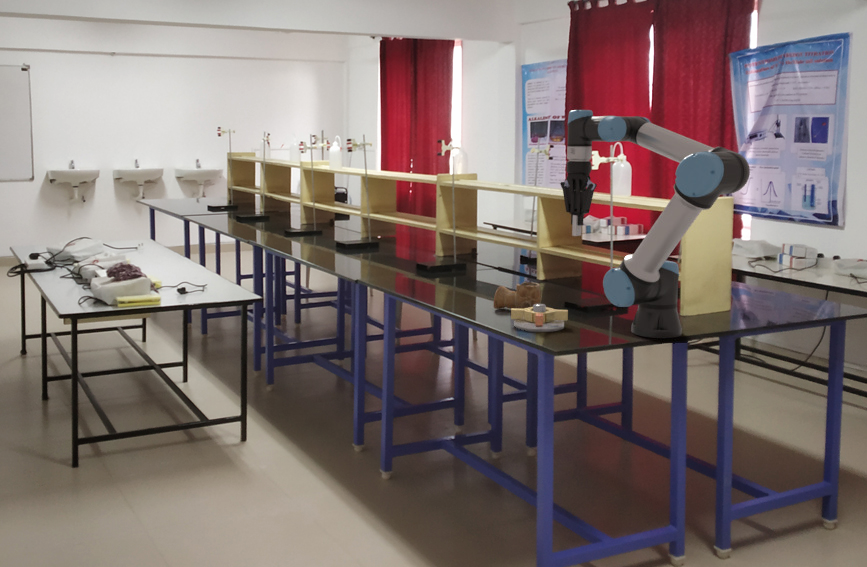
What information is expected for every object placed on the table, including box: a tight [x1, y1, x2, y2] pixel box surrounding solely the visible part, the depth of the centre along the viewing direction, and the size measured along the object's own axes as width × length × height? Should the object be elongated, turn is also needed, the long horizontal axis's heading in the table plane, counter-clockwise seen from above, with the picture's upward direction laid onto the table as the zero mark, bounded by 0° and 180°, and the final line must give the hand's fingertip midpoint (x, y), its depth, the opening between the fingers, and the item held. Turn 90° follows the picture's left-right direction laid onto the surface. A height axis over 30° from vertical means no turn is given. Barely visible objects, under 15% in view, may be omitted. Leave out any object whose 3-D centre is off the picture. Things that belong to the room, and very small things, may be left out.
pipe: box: [493, 281, 542, 310], centre depth 296 cm, size 9×16×10 cm, turn 68°
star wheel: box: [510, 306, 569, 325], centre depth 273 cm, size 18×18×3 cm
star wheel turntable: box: [513, 303, 565, 333], centre depth 273 cm, size 16×16×7 cm
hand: (576, 235), depth 269 cm, fingers closed
